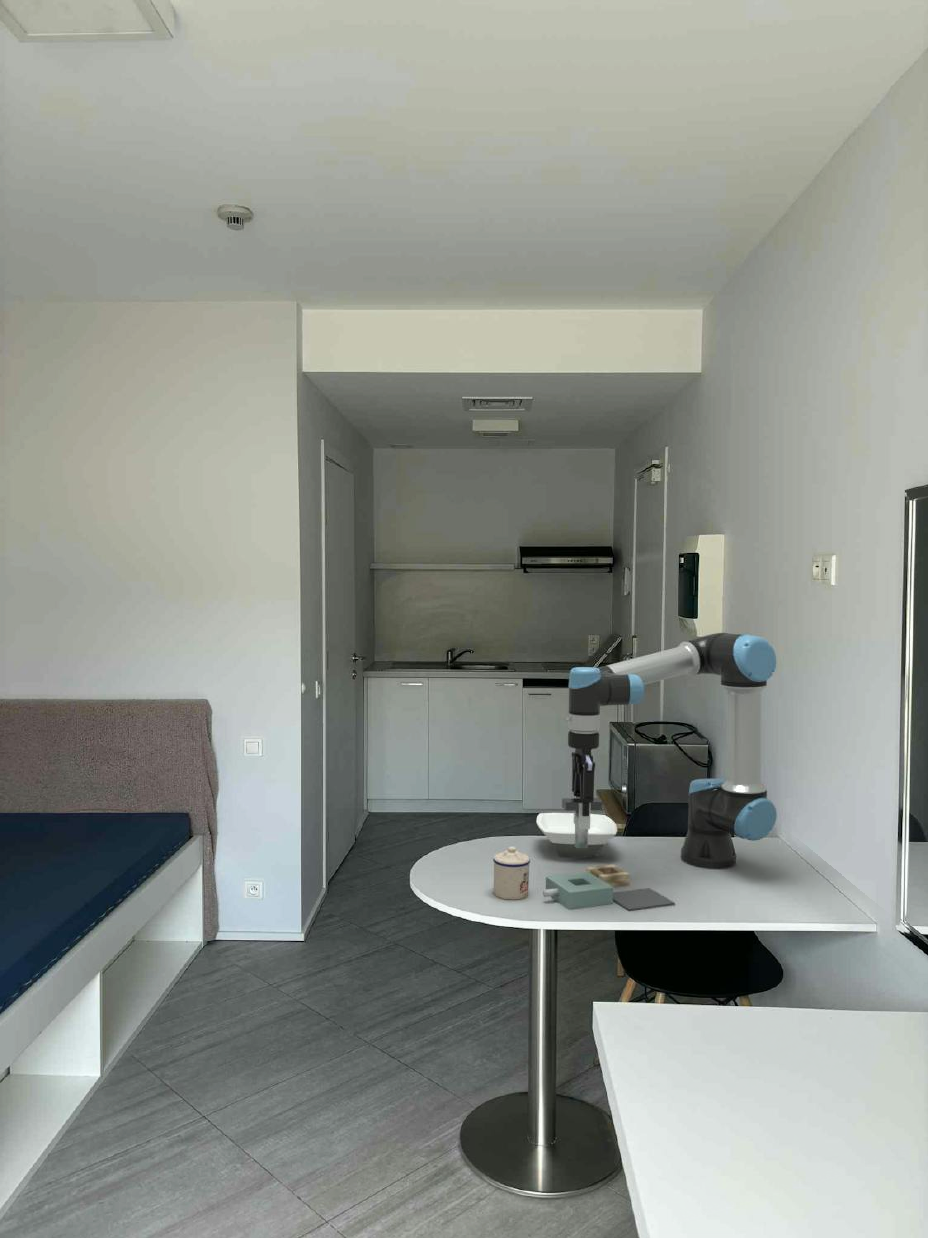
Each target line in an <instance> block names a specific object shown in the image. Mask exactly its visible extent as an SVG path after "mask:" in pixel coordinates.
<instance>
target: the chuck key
mask: <svg viewBox="0 0 928 1238" xmlns="http://www.w3.org/2000/svg"><path fill="white" fill-rule="evenodd" d="M577 800H580V798H573V797H570V798H566V797H565V798H564V797H563V798H562V799H561V808H563V809H564V810H565V812H569V811H572V812H574V811H575V847H576V848H579V849H585V848H588V829H579V828H578V826H579V803H578V802H577ZM591 811H603V801H602V800H601V799H600V798H599V797H594V800H593V802H591Z"/></svg>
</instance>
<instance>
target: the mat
mask: <svg viewBox="0 0 928 1238" xmlns="http://www.w3.org/2000/svg"><path fill="white" fill-rule="evenodd" d="M613 903H616V904H617V905H618V906H621V907H622V908H623V909H625V910H627V911H628V912H632V911H640V910H647V909H654V908H662V907H671V906H675V905H676V903H675V902H674V901H672V900H671V899H670V898H668V897H666V896H664V895H662V894H660V893H658V892H657V891H655V890H653V889H652V888H650V887H646V888H638V889H630V890H622V891H616V892H615V891H613Z"/></svg>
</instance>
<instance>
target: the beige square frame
mask: <svg viewBox="0 0 928 1238" xmlns="http://www.w3.org/2000/svg"><path fill="white" fill-rule="evenodd" d="M586 872H589V873H591V874H593V875H594V876H596V877H597V878H599V879H601V880H602V881H604V882H606V883H607V884H609V885H610V886H612V887H613V888H619V887H627V886H629V887H630V877H631V876H630V873H629V872H627V871H625V870H623V869H622V868H620V867H618V866H616V865H615V864H607V865H596V866H588V867H586Z"/></svg>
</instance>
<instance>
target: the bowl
mask: <svg viewBox="0 0 928 1238" xmlns="http://www.w3.org/2000/svg"><path fill="white" fill-rule="evenodd" d="M536 825H537V827H538V829H540V831H541V832H542V833H543V834H544V836H545V837H546V838H547V840H548V841H549V842H550V844H551V845H552V847H553V849H554V850H555V852H556V853H557V854H558V855H559V856H560V857H566V858H595V857H596V856H597V854H598V853H599V852H600V851H601V849H602V848H603V847H604V846H605V845H607V843H608V842H609V841H611V839H613V838H614V837H615V836H616V834H617V833H618V828H617V827H618V826H617V823H615V821H614V820H613V819H612V818H610V817H608V816H607V815H606V814H599V813H598V814H597V813H596V814H595V813H590V829H588V848H585V849H579V848H576V847H575V824H574V812H573V813H572V812H541V813H539V814H538V815H537V817H536Z"/></svg>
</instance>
